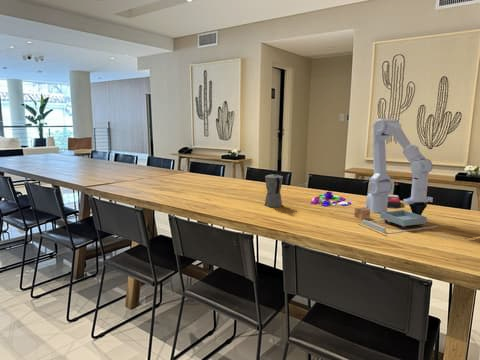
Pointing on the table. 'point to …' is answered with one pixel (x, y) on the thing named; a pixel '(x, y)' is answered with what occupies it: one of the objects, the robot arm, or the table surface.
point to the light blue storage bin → (403, 218)
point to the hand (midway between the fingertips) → (416, 219)
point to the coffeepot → (273, 190)
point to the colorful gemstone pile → (329, 200)
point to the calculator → (394, 201)
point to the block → (362, 213)
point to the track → (383, 229)
